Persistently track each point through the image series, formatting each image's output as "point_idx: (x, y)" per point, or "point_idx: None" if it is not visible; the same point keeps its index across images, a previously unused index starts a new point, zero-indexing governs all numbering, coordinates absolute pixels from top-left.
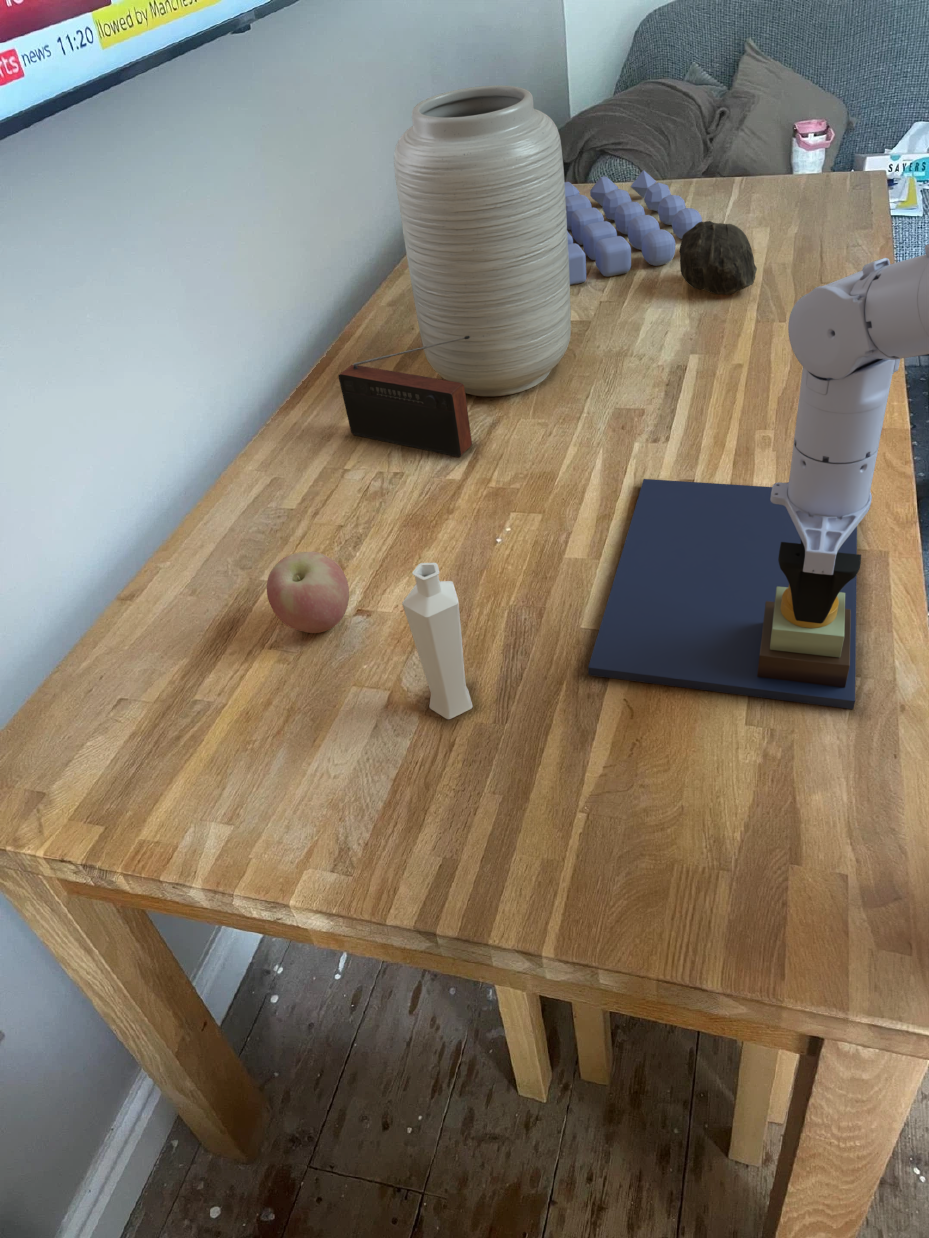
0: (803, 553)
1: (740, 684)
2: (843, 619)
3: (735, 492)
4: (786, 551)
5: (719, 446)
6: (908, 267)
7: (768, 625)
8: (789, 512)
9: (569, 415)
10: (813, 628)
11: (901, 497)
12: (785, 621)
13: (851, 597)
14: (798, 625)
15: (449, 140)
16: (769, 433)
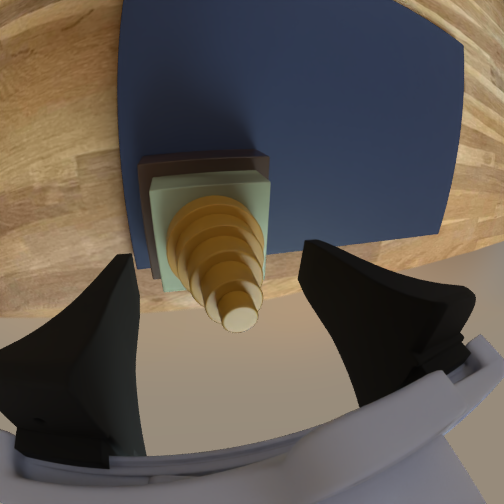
0: (55, 430)
1: (122, 138)
2: None
3: (453, 126)
4: (27, 400)
5: (488, 122)
6: None
7: (210, 166)
8: (193, 494)
9: (499, 21)
10: None
11: (426, 261)
12: (175, 208)
13: None
14: (167, 231)
15: None
16: (492, 163)
